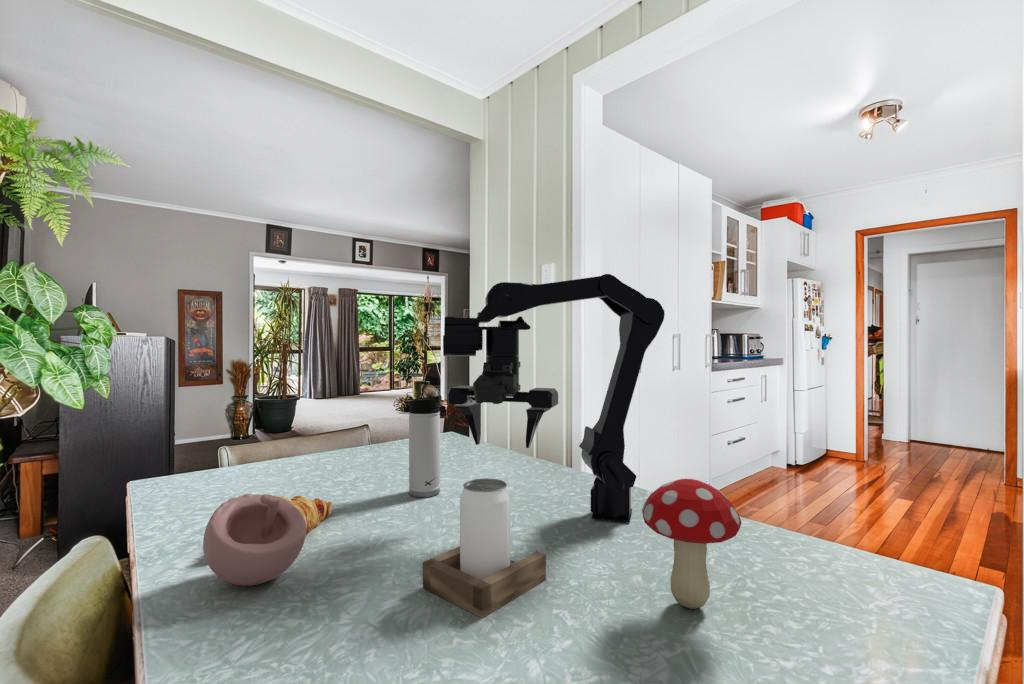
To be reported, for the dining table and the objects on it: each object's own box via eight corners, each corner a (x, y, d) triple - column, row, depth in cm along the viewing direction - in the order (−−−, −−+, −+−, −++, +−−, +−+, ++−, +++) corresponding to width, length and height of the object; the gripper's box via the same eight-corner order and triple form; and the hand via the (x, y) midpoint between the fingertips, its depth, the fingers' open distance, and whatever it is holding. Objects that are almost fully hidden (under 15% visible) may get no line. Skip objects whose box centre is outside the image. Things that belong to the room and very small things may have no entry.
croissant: (319, 531, 92) (305, 490, 93) (357, 513, 88) (341, 470, 90) (205, 579, 73) (189, 526, 74) (246, 558, 69) (229, 503, 70)
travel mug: (435, 498, 99) (435, 397, 99) (404, 496, 100) (403, 397, 100) (445, 489, 105) (445, 394, 105) (416, 487, 107) (416, 393, 106)
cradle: (487, 556, 73) (487, 534, 73) (545, 579, 66) (545, 554, 66) (422, 588, 64) (422, 562, 64) (482, 618, 57) (482, 589, 57)
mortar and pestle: (240, 614, 58) (240, 515, 58) (183, 589, 64) (182, 498, 63) (325, 572, 68) (325, 488, 68) (269, 553, 74) (269, 476, 74)
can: (502, 562, 69) (502, 475, 69) (516, 584, 63) (516, 489, 63) (455, 569, 67) (455, 479, 67) (465, 592, 61) (465, 494, 61)
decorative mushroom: (647, 577, 66) (647, 464, 66) (739, 593, 62) (740, 473, 62) (634, 621, 56) (634, 487, 56) (743, 644, 52) (743, 499, 52)
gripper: (432, 357, 82) (432, 452, 82) (543, 358, 77) (543, 460, 77) (459, 355, 93) (459, 439, 93) (558, 356, 87) (558, 445, 87)
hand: (502, 445), depth 87 cm, fingers open, 9 cm apart
